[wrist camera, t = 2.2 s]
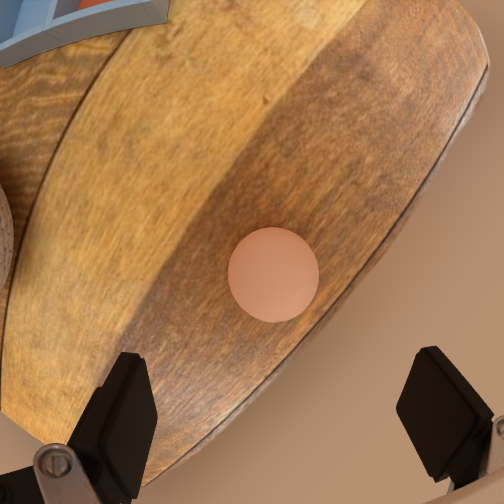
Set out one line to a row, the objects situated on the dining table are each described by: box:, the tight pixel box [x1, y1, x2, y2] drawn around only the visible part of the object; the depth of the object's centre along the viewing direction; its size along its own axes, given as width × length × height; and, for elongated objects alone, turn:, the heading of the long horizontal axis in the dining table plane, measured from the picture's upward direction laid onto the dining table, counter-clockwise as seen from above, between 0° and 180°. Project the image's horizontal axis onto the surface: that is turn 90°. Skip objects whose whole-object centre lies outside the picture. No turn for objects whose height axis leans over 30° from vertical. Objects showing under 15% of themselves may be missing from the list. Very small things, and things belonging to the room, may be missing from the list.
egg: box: [228, 227, 319, 322], centre depth 19 cm, size 6×6×8 cm
